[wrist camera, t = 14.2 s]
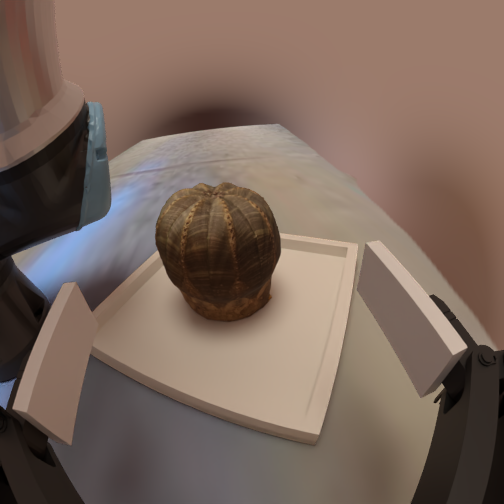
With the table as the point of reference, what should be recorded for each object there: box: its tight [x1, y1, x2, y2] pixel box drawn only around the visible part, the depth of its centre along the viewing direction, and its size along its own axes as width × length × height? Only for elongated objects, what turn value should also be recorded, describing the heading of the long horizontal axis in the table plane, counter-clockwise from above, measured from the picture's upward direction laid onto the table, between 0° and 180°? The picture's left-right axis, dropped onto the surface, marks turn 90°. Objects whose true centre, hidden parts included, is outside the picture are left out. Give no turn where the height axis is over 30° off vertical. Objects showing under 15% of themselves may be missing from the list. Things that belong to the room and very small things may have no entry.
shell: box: [155, 183, 281, 322], centre depth 25 cm, size 11×11×12 cm
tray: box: [90, 233, 358, 445], centre depth 29 cm, size 24×24×2 cm
